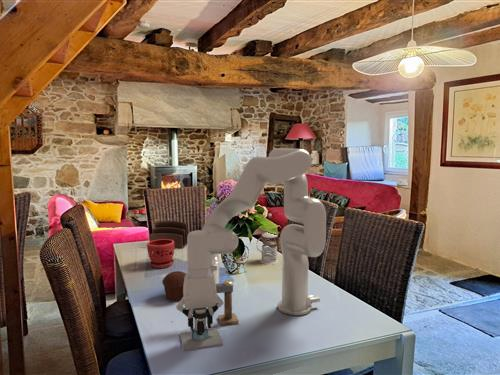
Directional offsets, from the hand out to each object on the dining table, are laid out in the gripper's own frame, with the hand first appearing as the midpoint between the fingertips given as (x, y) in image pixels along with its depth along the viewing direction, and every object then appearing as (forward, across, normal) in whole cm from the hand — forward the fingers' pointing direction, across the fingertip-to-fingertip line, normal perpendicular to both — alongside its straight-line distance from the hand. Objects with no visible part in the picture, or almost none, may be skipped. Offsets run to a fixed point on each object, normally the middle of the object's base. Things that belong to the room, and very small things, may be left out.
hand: (200, 326), depth 120 cm
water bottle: (+4, -11, -43) cm, 45 cm away
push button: (+4, -1, 0) cm, 4 cm away
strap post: (+4, -11, -10) cm, 16 cm away
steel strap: (-6, -4, -11) cm, 13 cm away
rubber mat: (+4, 0, 0) cm, 4 cm away
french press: (+4, -45, -68) cm, 82 cm away
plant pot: (+4, +8, -76) cm, 77 cm away
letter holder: (+5, +2, -110) cm, 110 cm away
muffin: (+4, +4, -35) cm, 36 cm away
